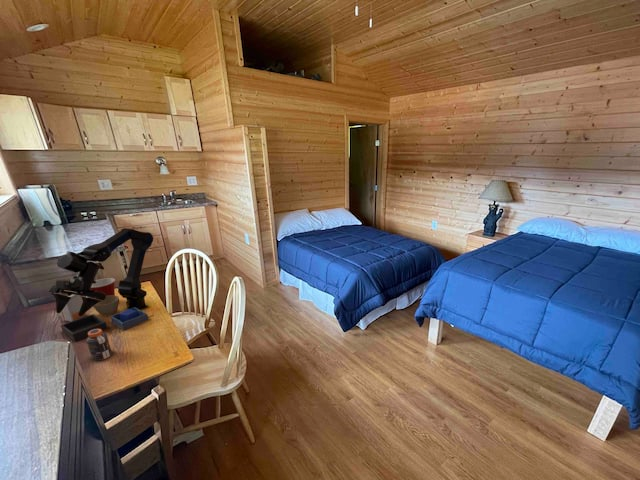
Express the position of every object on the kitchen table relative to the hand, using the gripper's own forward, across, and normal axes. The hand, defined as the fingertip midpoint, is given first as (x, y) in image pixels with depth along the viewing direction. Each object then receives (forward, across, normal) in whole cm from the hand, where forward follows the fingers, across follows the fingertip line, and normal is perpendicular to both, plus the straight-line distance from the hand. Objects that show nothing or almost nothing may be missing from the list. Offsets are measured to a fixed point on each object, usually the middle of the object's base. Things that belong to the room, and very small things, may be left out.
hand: (68, 314), depth 115 cm
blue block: (-2, +6, +23) cm, 24 cm away
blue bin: (-2, +6, +23) cm, 24 cm away
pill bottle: (+14, +15, +6) cm, 21 cm away
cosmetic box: (0, -18, +21) cm, 28 cm away
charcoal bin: (+5, -6, +16) cm, 17 cm away
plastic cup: (-10, -17, +32) cm, 38 cm away
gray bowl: (-4, -8, +26) cm, 28 cm away
